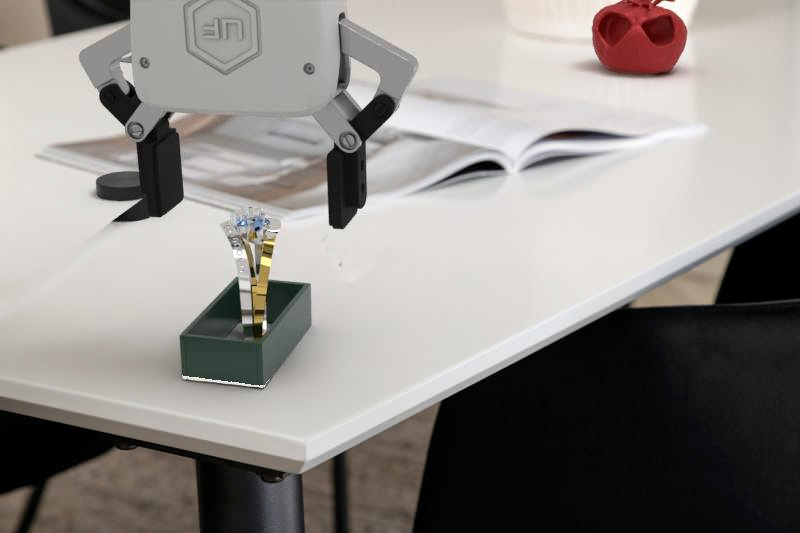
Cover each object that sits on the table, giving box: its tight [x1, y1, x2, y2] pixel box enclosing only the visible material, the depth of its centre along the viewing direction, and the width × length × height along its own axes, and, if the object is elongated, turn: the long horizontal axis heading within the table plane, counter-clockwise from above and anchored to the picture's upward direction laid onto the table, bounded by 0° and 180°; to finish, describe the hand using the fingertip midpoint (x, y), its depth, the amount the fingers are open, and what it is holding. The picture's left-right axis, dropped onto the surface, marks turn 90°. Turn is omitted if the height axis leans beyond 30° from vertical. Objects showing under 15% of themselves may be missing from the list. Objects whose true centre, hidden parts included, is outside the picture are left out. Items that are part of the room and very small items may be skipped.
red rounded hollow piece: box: [591, 0, 688, 75], centre depth 134 cm, size 10×10×9 cm
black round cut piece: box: [95, 170, 151, 222], centre depth 89 cm, size 4×4×2 cm
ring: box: [219, 206, 282, 341], centre depth 66 cm, size 7×3×8 cm, turn 1°
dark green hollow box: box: [178, 276, 313, 386], centre depth 68 cm, size 4×8×2 cm, turn 167°
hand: (254, 214), depth 65 cm, fingers open, 9 cm apart
